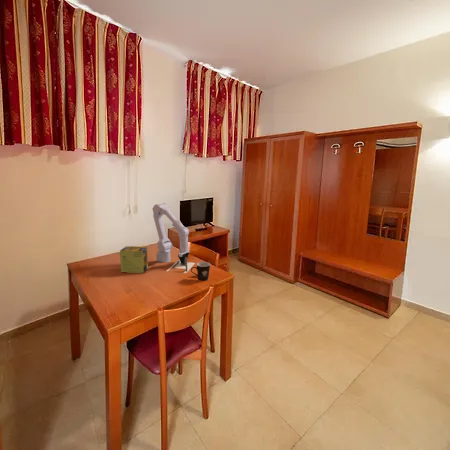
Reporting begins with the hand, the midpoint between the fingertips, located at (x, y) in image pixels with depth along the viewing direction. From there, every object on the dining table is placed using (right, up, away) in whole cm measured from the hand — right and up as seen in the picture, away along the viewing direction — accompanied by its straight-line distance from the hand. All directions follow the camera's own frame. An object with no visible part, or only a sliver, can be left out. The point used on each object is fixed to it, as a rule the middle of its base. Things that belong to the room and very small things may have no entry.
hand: (183, 263), depth 184 cm
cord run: (-5, -1, -1) cm, 5 cm away
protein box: (-32, -4, -8) cm, 34 cm away
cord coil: (0, -1, 0) cm, 1 cm away
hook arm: (+2, -3, -12) cm, 12 cm away
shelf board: (-1, -3, -4) cm, 6 cm away
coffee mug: (+14, -7, -20) cm, 26 cm away
